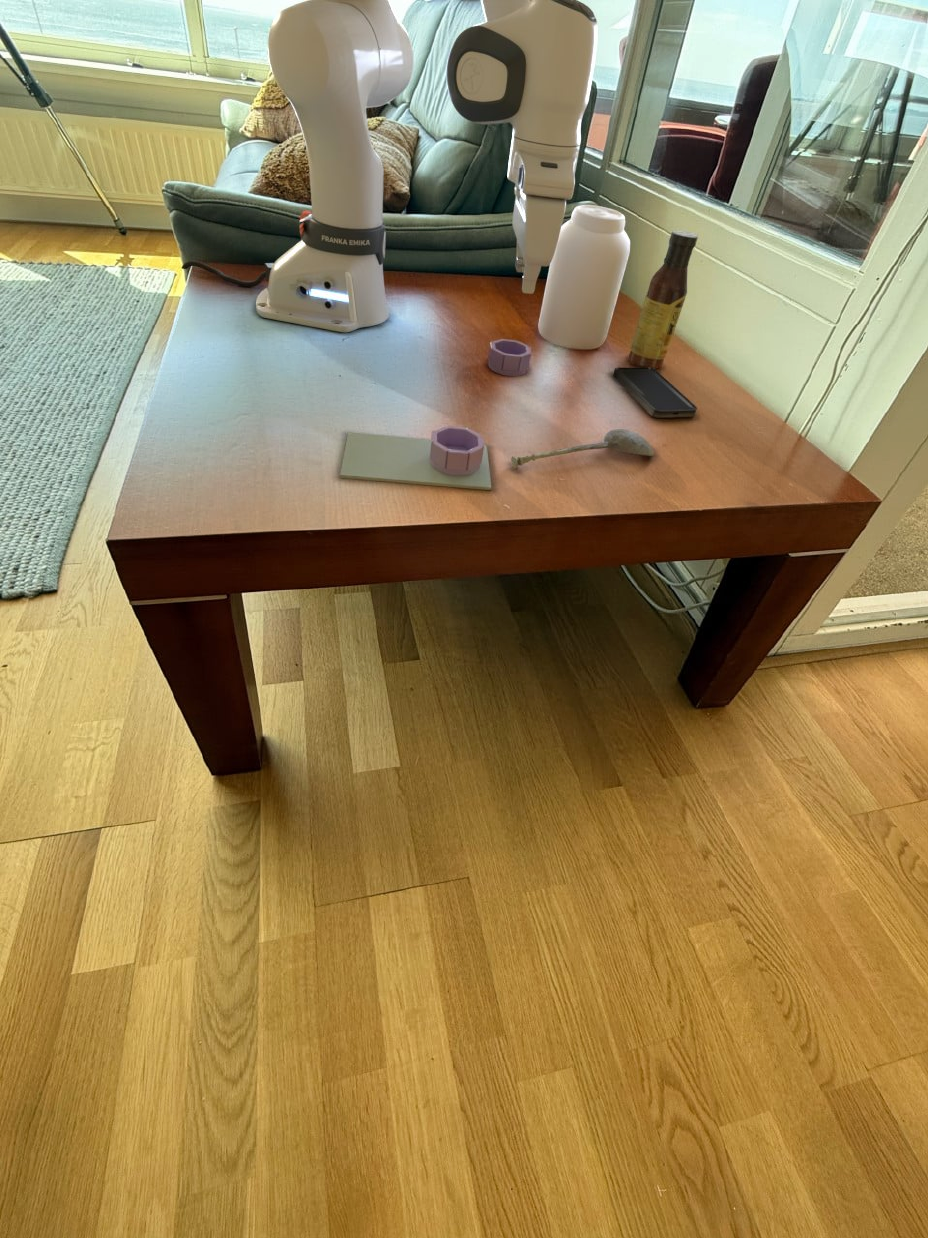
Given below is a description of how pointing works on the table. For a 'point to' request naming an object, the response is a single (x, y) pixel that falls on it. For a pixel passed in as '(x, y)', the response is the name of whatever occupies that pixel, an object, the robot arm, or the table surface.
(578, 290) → the white pill bottle
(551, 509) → the table surface
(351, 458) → the mat
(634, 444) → the soupspoon
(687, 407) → the phone
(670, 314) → the sauce bottle
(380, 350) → the table surface
